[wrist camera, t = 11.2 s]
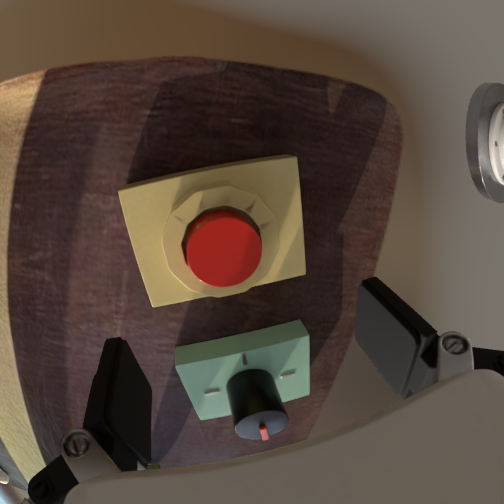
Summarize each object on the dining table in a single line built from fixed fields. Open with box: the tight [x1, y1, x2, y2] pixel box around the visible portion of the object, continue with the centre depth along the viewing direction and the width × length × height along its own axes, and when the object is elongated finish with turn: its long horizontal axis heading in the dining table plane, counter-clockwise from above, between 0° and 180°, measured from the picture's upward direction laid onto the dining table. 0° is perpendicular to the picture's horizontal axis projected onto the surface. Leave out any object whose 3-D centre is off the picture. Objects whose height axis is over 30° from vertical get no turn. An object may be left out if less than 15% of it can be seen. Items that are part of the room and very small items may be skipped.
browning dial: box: [226, 369, 288, 441], centre depth 23 cm, size 5×5×5 cm
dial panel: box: [175, 319, 310, 420], centre depth 27 cm, size 12×9×3 cm
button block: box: [118, 154, 306, 307], centre depth 20 cm, size 12×9×4 cm
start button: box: [187, 210, 262, 287], centre depth 18 cm, size 4×4×2 cm
